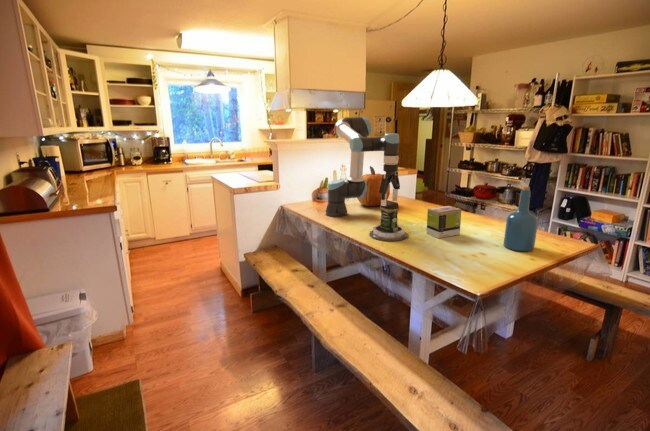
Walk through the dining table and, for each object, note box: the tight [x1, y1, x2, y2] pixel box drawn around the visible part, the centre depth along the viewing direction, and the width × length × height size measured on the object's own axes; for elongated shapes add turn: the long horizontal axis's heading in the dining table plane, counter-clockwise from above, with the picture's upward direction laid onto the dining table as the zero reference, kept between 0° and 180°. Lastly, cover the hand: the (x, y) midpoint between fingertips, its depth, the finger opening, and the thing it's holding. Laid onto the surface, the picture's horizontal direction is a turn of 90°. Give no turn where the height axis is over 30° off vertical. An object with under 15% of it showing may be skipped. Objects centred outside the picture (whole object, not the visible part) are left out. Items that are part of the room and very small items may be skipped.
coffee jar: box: [379, 199, 400, 233], centre depth 184 cm, size 10×8×19 cm
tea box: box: [426, 205, 462, 239], centre depth 184 cm, size 15×10×15 cm, turn 111°
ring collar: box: [368, 224, 409, 242], centre depth 186 cm, size 21×21×4 cm
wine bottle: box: [503, 185, 539, 252], centre depth 160 cm, size 14×13×30 cm
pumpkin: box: [356, 165, 391, 207], centre depth 254 cm, size 26×23×30 cm
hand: (389, 203), depth 182 cm, fingers open, 13 cm apart
